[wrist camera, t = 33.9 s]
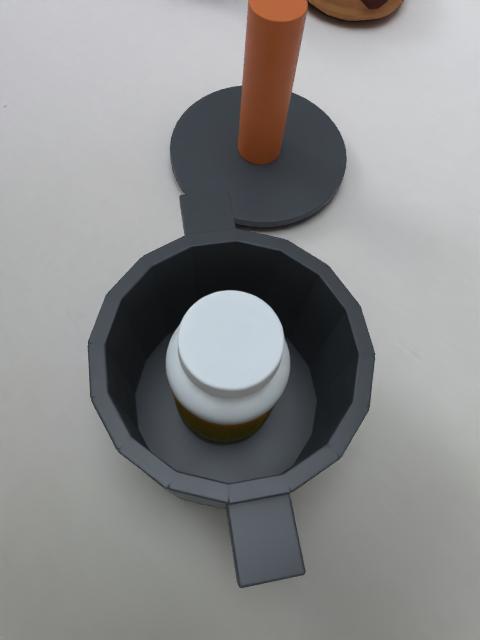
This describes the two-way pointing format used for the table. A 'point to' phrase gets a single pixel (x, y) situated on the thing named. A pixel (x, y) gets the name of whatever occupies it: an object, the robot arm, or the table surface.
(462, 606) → the table surface
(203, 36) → the table surface
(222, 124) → the lid
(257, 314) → the supplement bottle
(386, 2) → the donut
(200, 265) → the cup
